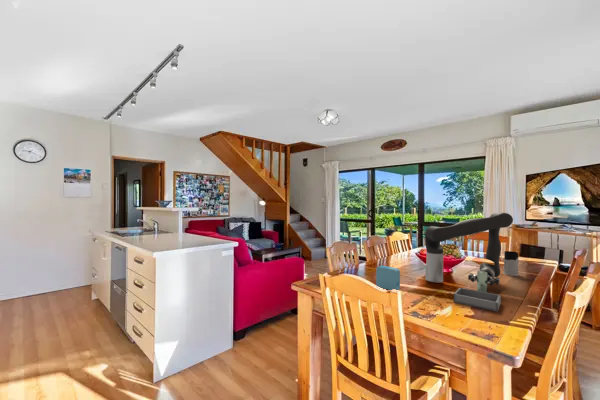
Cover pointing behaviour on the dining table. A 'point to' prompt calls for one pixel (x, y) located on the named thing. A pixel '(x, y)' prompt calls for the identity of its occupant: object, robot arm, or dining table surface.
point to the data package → (388, 277)
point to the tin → (482, 281)
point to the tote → (477, 299)
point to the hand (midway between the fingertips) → (481, 281)
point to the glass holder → (510, 263)
